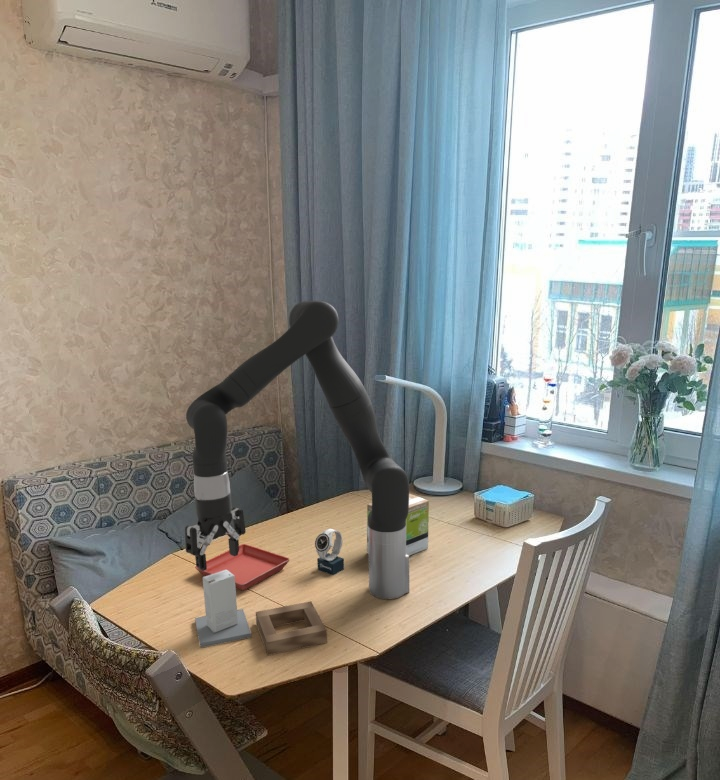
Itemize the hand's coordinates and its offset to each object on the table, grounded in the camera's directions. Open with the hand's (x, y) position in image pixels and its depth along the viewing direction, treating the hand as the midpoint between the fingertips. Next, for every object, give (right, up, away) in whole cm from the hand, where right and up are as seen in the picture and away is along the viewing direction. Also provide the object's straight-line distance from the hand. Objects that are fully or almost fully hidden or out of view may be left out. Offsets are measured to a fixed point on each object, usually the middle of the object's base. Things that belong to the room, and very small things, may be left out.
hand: (218, 562), depth 147 cm
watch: (+23, -10, +31) cm, 40 cm away
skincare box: (0, -15, +3) cm, 16 cm away
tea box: (+42, -8, +41) cm, 59 cm away
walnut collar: (+16, -16, +1) cm, 23 cm away
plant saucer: (0, -11, +30) cm, 32 cm away
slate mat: (0, -16, +3) cm, 16 cm away
